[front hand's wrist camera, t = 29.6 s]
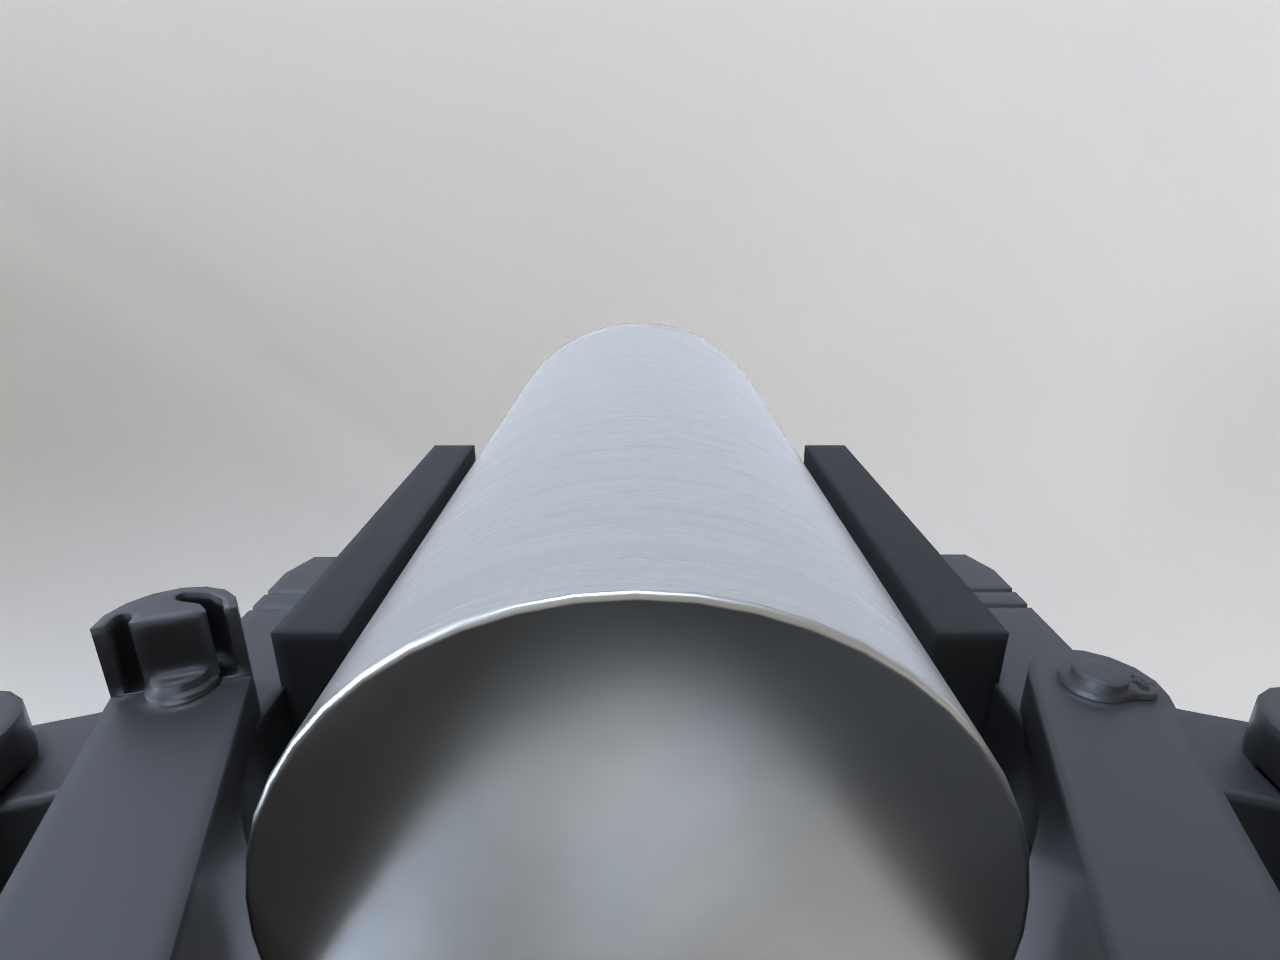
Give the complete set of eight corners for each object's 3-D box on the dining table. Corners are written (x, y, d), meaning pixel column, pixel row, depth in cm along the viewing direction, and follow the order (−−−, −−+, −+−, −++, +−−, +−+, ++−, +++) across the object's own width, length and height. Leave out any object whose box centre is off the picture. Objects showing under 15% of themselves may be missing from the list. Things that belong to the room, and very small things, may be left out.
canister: (534, 584, 19) (362, 1195, 7) (484, 342, 16) (113, 649, 5) (778, 555, 18) (1014, 1143, 7) (759, 304, 16) (1061, 538, 5)
